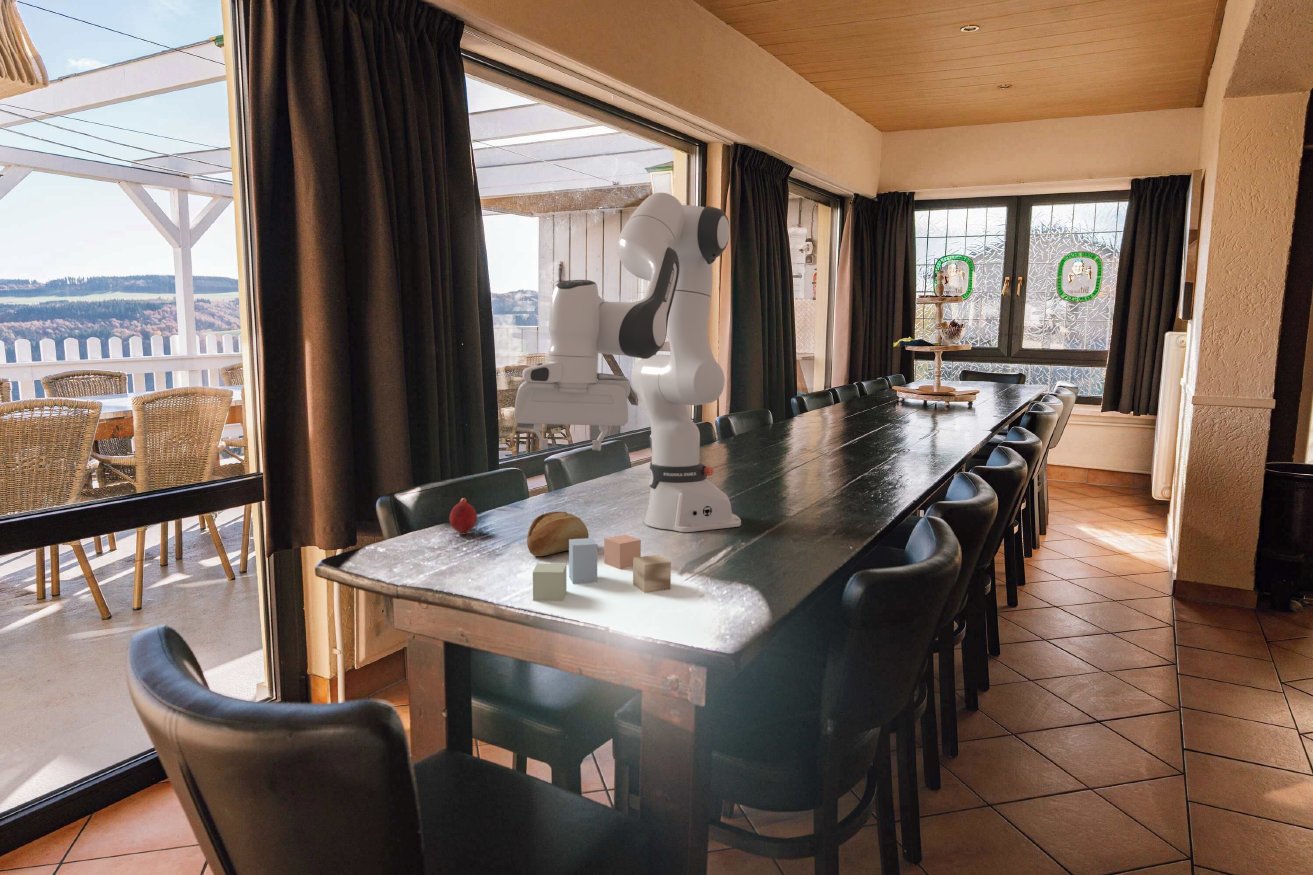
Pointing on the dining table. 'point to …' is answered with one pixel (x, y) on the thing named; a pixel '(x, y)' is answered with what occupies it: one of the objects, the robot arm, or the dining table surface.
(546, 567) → the sage block
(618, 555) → the terracotta block
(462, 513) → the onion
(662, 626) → the dining table surface
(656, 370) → the robot arm
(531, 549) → the bread roll
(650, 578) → the birch block
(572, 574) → the pale blue block
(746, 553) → the dining table surface
